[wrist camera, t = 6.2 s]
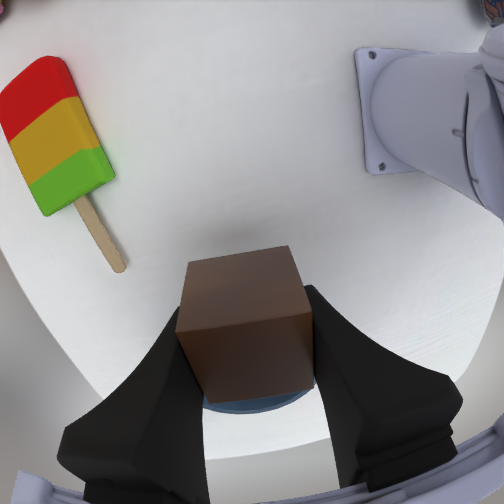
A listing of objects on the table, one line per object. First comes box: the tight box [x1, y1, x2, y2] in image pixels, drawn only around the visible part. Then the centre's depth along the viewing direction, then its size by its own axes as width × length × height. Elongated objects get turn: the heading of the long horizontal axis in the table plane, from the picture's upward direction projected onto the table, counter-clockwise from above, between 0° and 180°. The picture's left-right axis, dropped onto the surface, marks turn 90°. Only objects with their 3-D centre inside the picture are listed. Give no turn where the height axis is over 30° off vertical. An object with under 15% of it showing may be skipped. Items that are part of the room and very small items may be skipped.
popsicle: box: [0, 56, 126, 273], centre depth 15 cm, size 6×15×2 cm, turn 20°
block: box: [175, 245, 314, 404], centre depth 11 cm, size 4×4×4 cm
